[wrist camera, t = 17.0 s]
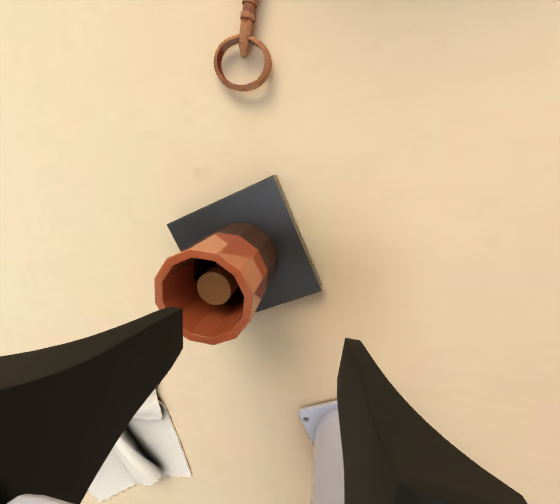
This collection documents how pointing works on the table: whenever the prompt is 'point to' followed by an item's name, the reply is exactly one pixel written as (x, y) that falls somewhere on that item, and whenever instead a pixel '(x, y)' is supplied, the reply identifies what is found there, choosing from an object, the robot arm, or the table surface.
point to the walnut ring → (252, 237)
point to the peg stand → (268, 217)
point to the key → (244, 48)
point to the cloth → (142, 453)
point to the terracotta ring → (183, 293)
